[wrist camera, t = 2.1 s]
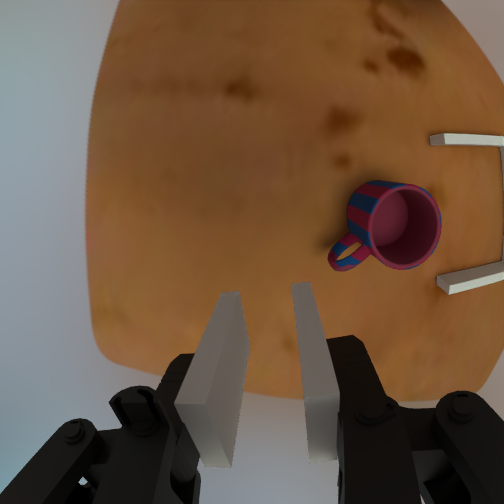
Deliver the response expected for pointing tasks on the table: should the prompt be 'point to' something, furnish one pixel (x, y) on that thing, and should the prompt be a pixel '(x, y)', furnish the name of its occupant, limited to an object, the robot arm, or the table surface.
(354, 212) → the mug
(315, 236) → the table surface
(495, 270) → the white u-shaped frame
